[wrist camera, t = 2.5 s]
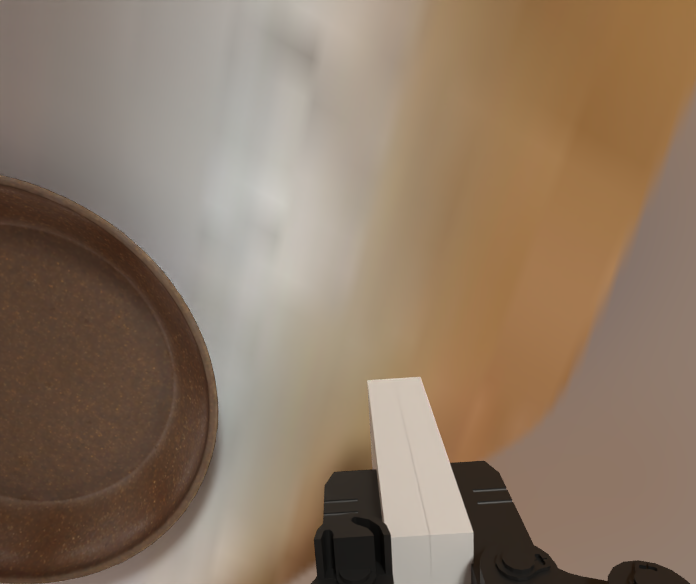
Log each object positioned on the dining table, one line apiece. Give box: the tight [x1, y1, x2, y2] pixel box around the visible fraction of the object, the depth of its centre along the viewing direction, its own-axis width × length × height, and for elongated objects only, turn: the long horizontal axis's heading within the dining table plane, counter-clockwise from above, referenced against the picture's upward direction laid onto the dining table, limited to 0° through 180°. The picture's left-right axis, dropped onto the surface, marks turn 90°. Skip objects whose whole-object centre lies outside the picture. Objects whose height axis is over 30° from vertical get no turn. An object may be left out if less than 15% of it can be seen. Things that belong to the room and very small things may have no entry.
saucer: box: [0, 175, 218, 584], centre depth 20 cm, size 15×15×3 cm
